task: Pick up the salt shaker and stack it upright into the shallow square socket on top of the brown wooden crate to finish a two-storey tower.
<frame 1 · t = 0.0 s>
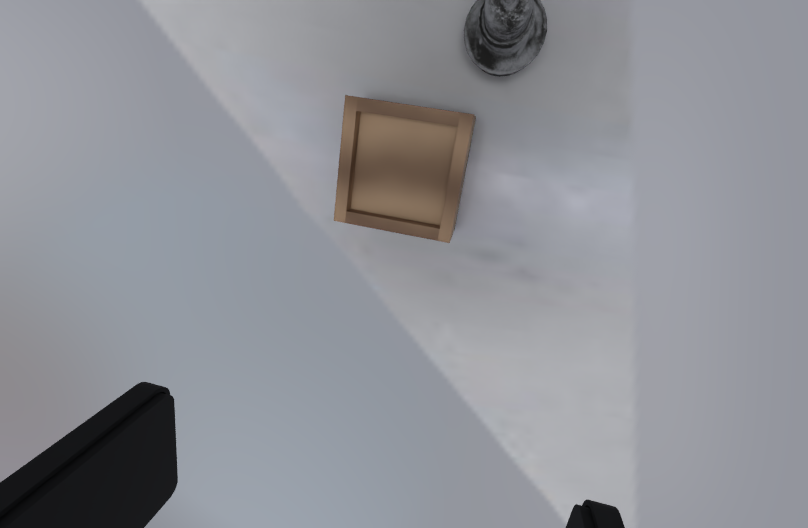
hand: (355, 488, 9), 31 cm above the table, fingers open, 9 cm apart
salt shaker: (503, 41, 34), on the table
brown wooden crate: (410, 166, 38), on the table
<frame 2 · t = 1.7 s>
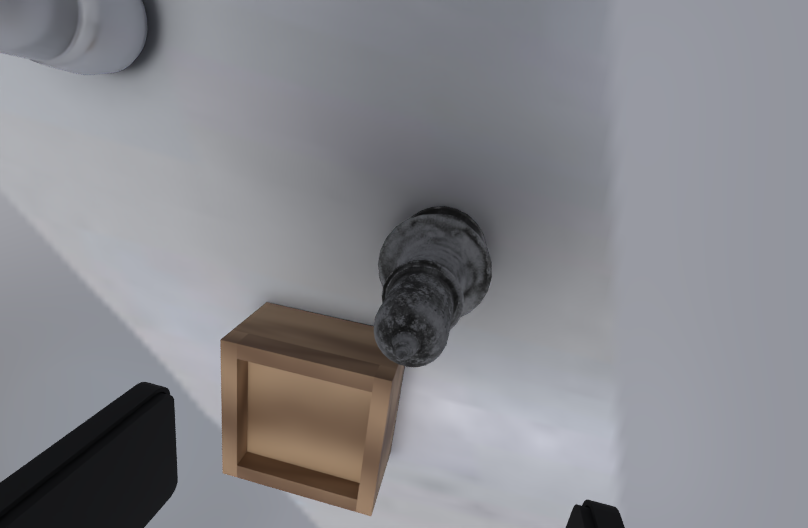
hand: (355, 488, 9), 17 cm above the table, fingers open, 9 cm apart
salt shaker: (441, 249, 25), on the table
brown wooden crate: (330, 380, 29), on the table
plastic bottle: (115, 18, 24), on the table
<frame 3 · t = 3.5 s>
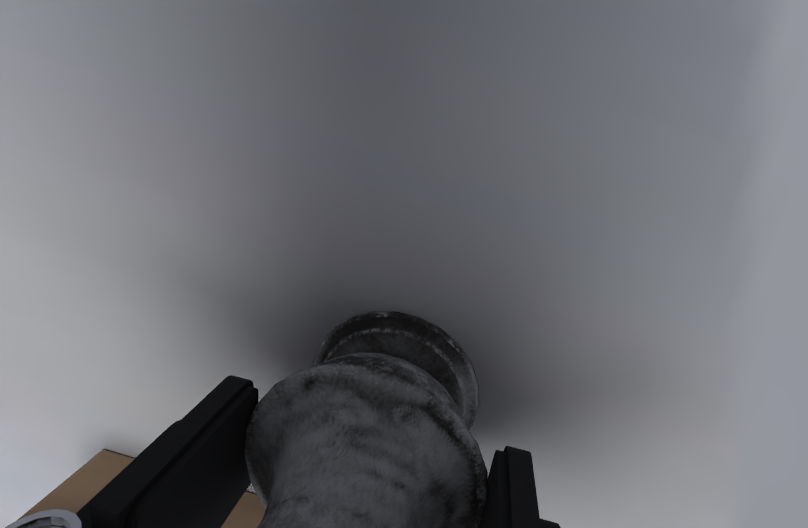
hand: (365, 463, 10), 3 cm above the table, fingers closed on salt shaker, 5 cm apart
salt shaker: (394, 385, 13), on the table, touching gripper
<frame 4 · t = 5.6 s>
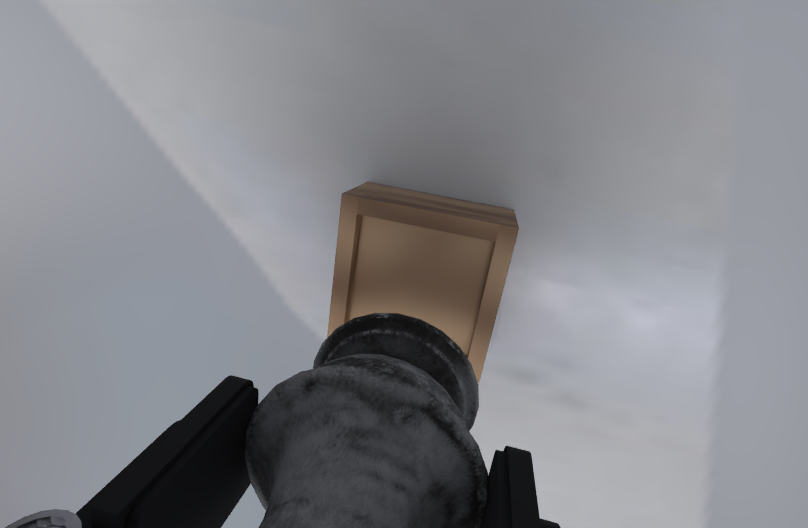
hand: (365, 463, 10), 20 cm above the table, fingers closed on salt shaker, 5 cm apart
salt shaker: (394, 386, 13), point 17 cm above the table, touching gripper
brown wooden crate: (426, 264, 30), on the table
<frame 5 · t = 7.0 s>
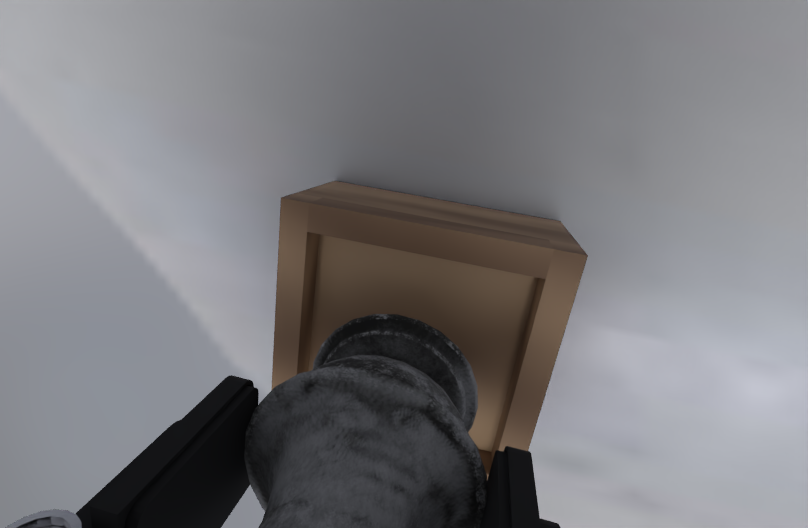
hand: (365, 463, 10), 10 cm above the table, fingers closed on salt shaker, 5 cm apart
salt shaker: (393, 387, 13), point 7 cm above the table, touching gripper
brown wooden crate: (424, 303, 20), on the table
when the fingers open (8 cm above the table, at t = 7.9 s): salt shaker stays where it is, resting on brown wooden crate.
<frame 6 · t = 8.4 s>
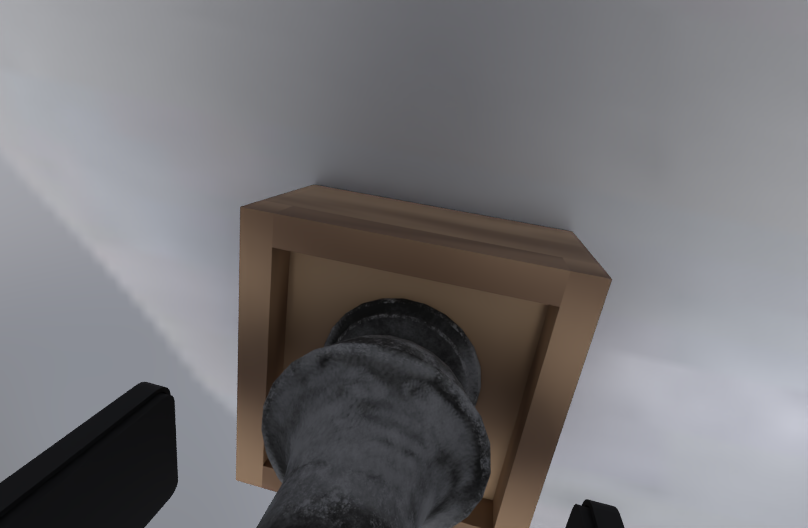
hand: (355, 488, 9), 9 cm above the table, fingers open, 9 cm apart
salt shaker: (400, 369, 14), point 4 cm above the table, touching brown wooden crate
brown wooden crate: (417, 323, 17), on the table
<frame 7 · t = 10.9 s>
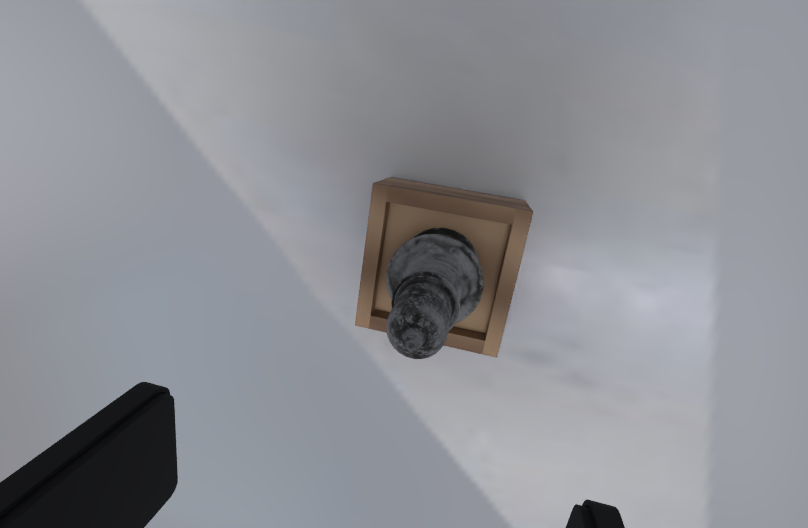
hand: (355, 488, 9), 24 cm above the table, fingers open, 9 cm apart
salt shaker: (440, 265, 28), point 4 cm above the table, touching brown wooden crate
brown wooden crate: (444, 253, 32), on the table
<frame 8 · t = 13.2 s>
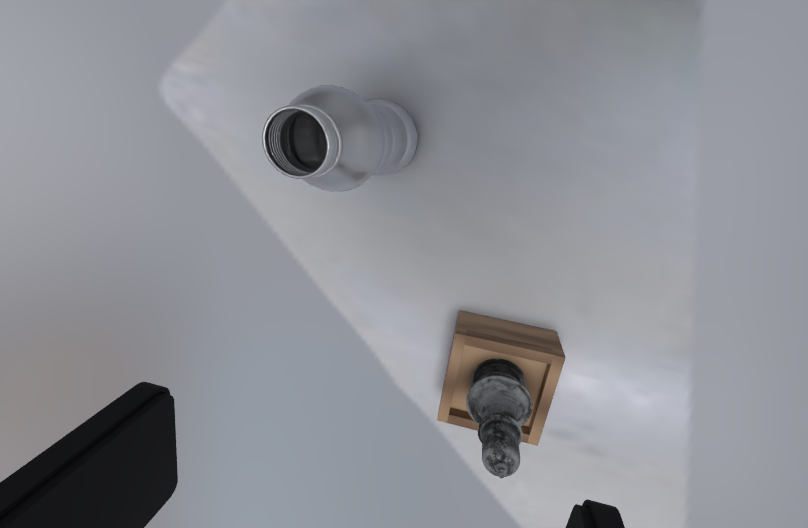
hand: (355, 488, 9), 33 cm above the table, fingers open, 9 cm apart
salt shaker: (498, 381, 41), point 4 cm above the table, touching brown wooden crate
brown wooden crate: (496, 362, 45), on the table
plastic bottle: (387, 137, 40), on the table
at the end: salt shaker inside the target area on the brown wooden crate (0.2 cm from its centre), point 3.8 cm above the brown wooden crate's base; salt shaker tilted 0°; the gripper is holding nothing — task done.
